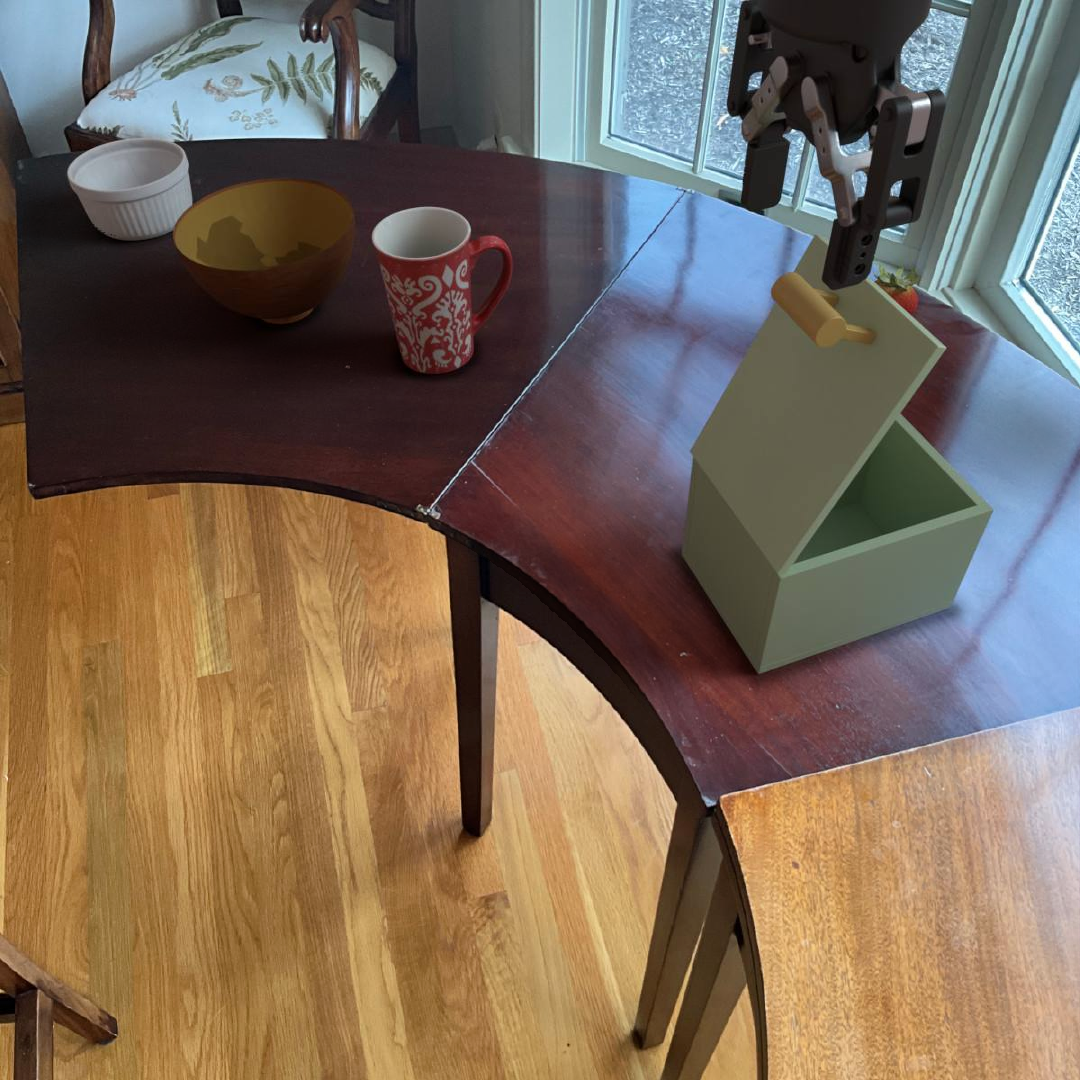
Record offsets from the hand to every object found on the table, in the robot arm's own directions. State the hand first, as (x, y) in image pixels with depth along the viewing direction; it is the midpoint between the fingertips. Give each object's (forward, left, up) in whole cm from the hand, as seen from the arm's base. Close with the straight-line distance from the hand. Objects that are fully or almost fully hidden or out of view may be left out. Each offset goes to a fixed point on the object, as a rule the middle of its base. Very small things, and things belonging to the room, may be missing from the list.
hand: (798, 243), depth 54 cm
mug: (+18, -37, -32) cm, 52 cm away
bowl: (+35, -48, -32) cm, 67 cm away
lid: (-3, -1, -12) cm, 13 cm away
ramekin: (+52, -70, -32) cm, 92 cm away
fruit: (-24, -31, -32) cm, 50 cm away
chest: (-7, -2, -31) cm, 32 cm away
